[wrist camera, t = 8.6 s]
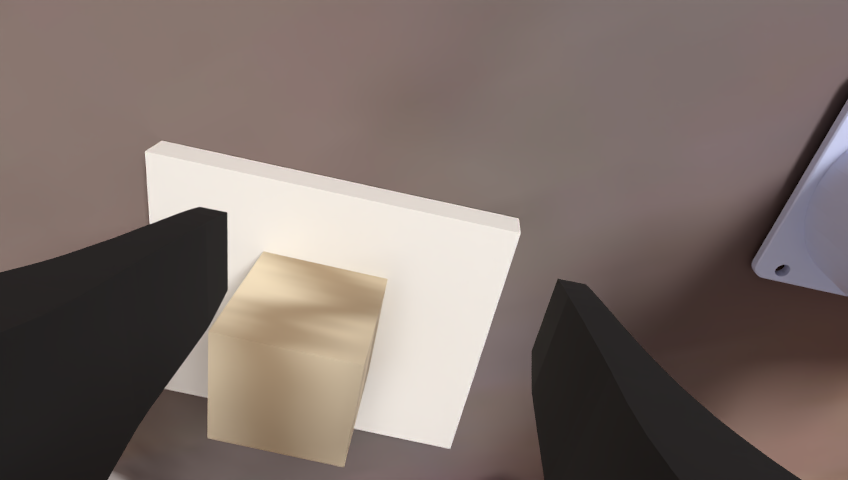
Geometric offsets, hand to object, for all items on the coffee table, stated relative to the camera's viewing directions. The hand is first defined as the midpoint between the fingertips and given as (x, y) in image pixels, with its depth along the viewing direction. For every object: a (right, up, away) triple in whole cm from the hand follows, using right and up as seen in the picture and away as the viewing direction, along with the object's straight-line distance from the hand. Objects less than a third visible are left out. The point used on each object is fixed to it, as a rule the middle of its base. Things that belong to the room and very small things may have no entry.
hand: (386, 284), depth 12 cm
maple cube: (-4, -2, +11) cm, 12 cm away
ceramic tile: (-4, -2, +12) cm, 13 cm away
